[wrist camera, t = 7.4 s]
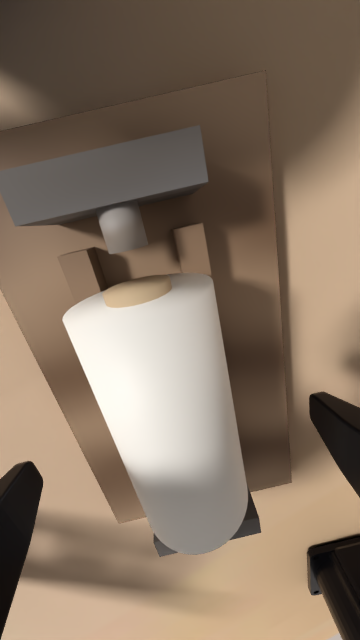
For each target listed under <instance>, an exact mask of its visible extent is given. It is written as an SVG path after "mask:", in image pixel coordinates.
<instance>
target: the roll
mask: <svg viewBox="0 0 360 640" xmlns="http://www.w3.org/2000/svg"><path fill="white" fill-rule="evenodd" d="M62 321H63V323H64V325H65V328H66V330H67V332H68V335H69V337H70V339H71V342H72V344H73V346H74V349H75V351H76V353H77V356H78V358H79V360H80V363H81V365H82V367H83V370H84V372H85V374H86V377H87V379H88V381H89V384H90V386H91V388H92V391H93V393H94V395H95V398H96V400H97V402H98V405H99V407H100V409H101V412H102V414H103V416H104V419H105V421H106V423H107V426H108V428H109V430H110V433H111V435H112V437H113V440H114V442H115V444H116V447H117V449H118V451H119V454H120V456H121V458H122V461H123V463H124V465H125V468H126V470H127V473H128V475H129V477H130V480H131V482H132V484H133V487H134V489H135V491H136V494H137V496H138V498H139V501H140V503H141V505H142V508H143V510H144V512H145V515H146V517H147V519H148V522H149V524H150V526H151V528H152V530H153V532H154V534H155V535H156V536H157V538H158V539H159V540H160V541H161V542H162V543H163V544H165V545H166V546H167V547H169V548H170V549H172V550H174V551H177V552H179V553H184V554H192V555H197V554H204V553H207V552H211V551H213V550H215V549H217V548H219V547H221V546H222V545H224V544H225V543H226V542H227V541H229V540H230V539H231V538H232V537H233V535H234V534H235V533H236V532H237V530H238V529H239V527H240V525H241V524H242V521H243V519H244V517H245V513H246V510H247V504H248V490H247V483H246V477H245V471H244V465H243V459H242V453H241V447H240V441H239V435H238V429H237V423H236V417H235V411H234V405H233V399H232V393H231V387H230V381H229V375H228V369H227V363H226V357H225V351H224V345H223V339H222V333H221V327H220V320H219V314H218V308H217V302H216V296H215V290H214V284H213V280H212V278H211V277H210V276H208V275H205V274H200V273H175V274H166V275H151V276H145V277H140V278H136V279H132V280H129V281H125V282H122V283H120V284H117V285H115V286H112V287H110V288H109V289H107V290H105V291H102V292H100V293H97V294H95V295H93V296H91V297H88V298H86V299H85V300H83V301H81V302H79V303H77V304H76V305H74V306H73V307H71V308H70V309H69V310H68V311H67V312H66V313H65V314H64V316H63V319H62Z"/></svg>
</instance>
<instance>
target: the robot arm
mask: <svg viewBox="0 0 360 640" xmlns="http://www.w3.org/2000/svg"><path fill="white" fill-rule="evenodd" d="M309 406H310V418H311V420H312V422H313V424H314V426H315V427H316V429H317V431H318V433H319V434H320V436H321V438H322V440H323V441H324V443H325V445H326V446H327V448H328V450H329V452H330V453H331V455H332V457H333V459H334V460H335V462H336V464H337V465H338V467H339V469H340V470H341V472H342V473H343V475H344V476H345V478H346V479H347V480H348V482H349V483H350V485H351V486H352V487H353V489H354V490H355V492H356V493H357V494H358V496H359V497H360V408H359V407H357V406H354V405H352V404H350V403H348V402H346V401H343V400H341V399H339V398H337V397H335V396H332V395H330V394H328V393H326V392H318V393H314V394H311V395H310V397H309ZM42 488H43V479H42V476H41V475H40V473H39V471H38V470H37V468H36V467H35V465H34V463H33V462H31V461H27V462H22V463H19V464H16V465H15V466H14V467H13V468H12V469H11V470H10V471H8V472H7V473H6V474H5V475H4V476H3V477H2V478H1V479H0V640H1V636H2V633H3V630H4V627H5V623H6V620H7V617H8V614H9V610H10V607H11V604H12V601H13V597H14V594H15V591H16V588H17V585H18V581H19V578H20V575H21V572H22V568H23V565H24V562H25V559H26V555H27V552H28V548H29V545H30V541H31V537H32V533H33V529H34V524H35V520H36V515H37V510H38V506H39V501H40V497H41V492H42ZM307 568H308V588H309V591H310V593H311V595H319V594H322V595H323V597H324V599H325V601H326V604H327V606H328V608H329V610H330V613H331V615H332V617H333V619H334V622H335V624H336V626H337V628H338V631H339V633H340V635H341V637H342V639H343V640H360V537H358V538H354V539H350V540H345V541H341V542H337V543H333V544H329V545H324V546H320V547H316V548H312V549H310V550H309V551H308V552H307Z"/></svg>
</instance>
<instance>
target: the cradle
mask: <svg viewBox="0 0 360 640" xmlns="http://www.w3.org/2000/svg"><path fill="white" fill-rule="evenodd" d="M175 273H200V274H205V275H208V276H210V277H211V278H212V280H213V284H214V290H215V296H216V302H217V308H218V314H219V320H220V327H221V333H222V339H223V345H224V351H225V357H226V363H227V369H228V375H229V381H230V387H231V393H232V399H233V405H234V411H235V417H236V423H237V429H238V435H239V441H240V447H241V453H242V459H243V465H244V471H245V477H246V483H247V490H248V504H247V510H246V513H245V517H244V519H243V521H242V524H241V525H240V527H239V529H238V530H237V532H236V533H235V534H234V535H233V537H232V538H231V539H230V540H232V539H236V538H241V537H245V536H249V535H253V534H257V533H261V529H260V522H259V517H258V514H257V511H256V508H255V505H254V502H253V499H252V497H251V494H250V492H254V491H258V490H262V489H266V488H271V487H275V486H279V485H283V484H287V483H292V480H291V464H290V448H289V432H288V416H287V400H286V384H285V368H284V352H283V336H282V320H281V304H280V288H279V273H278V257H277V241H276V225H275V209H274V193H273V177H272V161H271V145H270V129H269V113H268V97H267V81H266V70H265V71H261V72H256V73H252V74H248V75H243V76H239V77H235V78H230V79H226V80H222V81H217V82H213V83H208V84H204V85H200V86H195V87H191V88H187V89H182V90H178V91H173V92H169V93H165V94H160V95H156V96H152V97H147V98H143V99H139V100H134V101H130V102H125V103H121V104H117V105H112V106H108V107H104V108H99V109H95V110H91V111H86V112H82V113H77V114H73V115H69V116H64V117H60V118H56V119H51V120H47V121H43V122H38V123H34V124H29V125H25V126H21V127H16V128H12V129H8V130H3V131H0V289H1V291H2V293H3V295H4V297H5V299H6V301H7V303H8V305H9V307H10V309H11V311H12V313H13V315H14V317H15V319H16V321H17V323H18V325H19V327H20V329H21V331H22V333H23V335H24V337H25V339H26V341H27V343H28V345H29V347H30V349H31V351H32V353H33V355H34V357H35V359H36V361H37V363H38V365H39V367H40V369H41V371H42V372H43V374H44V376H45V378H46V380H47V382H48V384H49V386H50V388H51V390H52V392H53V394H54V396H55V398H56V400H57V402H58V404H59V406H60V408H61V410H62V412H63V414H64V416H65V418H66V420H67V422H68V424H69V426H70V428H71V430H72V432H73V434H74V436H75V438H76V440H77V442H78V444H79V446H80V448H81V450H82V452H83V454H84V456H85V458H86V460H87V462H88V464H89V466H90V468H91V470H92V472H93V473H94V475H95V477H96V479H97V481H98V483H99V485H100V487H101V489H102V491H103V493H104V495H105V497H106V499H107V501H108V503H109V505H110V507H111V509H112V511H113V513H114V515H115V517H116V519H117V521H118V523H124V522H128V521H132V520H136V519H140V518H145V517H146V515H145V512H144V510H143V508H142V505H141V503H140V501H139V498H138V496H137V494H136V491H135V489H134V487H133V484H132V482H131V480H130V477H129V475H128V473H127V470H126V468H125V465H124V463H123V461H122V458H121V456H120V454H119V451H118V449H117V447H116V444H115V442H114V440H113V437H112V435H111V433H110V430H109V428H108V426H107V423H106V421H105V419H104V416H103V414H102V412H101V409H100V407H99V405H98V402H97V400H96V398H95V395H94V393H93V391H92V388H91V386H90V384H89V381H88V379H87V377H86V374H85V372H84V370H83V367H82V365H81V363H80V360H79V358H78V356H77V353H76V351H75V349H74V346H73V344H72V342H71V339H70V337H69V335H68V332H67V330H66V328H65V325H64V323H63V321H62V319H63V316H64V314H65V313H66V312H67V311H68V310H69V309H70V308H71V307H73V306H74V305H76V304H77V303H79V302H81V301H83V300H85V299H86V298H88V297H91V296H93V295H95V294H97V293H100V292H102V291H105V290H107V289H109V288H110V287H112V286H115V285H117V284H120V283H122V282H125V281H129V280H132V279H136V278H140V277H145V276H151V275H166V274H175ZM154 545H155V547H156V549H157V551H158V554H159V556H160V557H161V556H165V555H169V554H174V553H178V552H177V551H174V550H172V549H170V548H169V547H167V546H166V545H165V544H163V543H162V542H161V541H160V540H159V539H158V538H157V536H156V535H155V534H154Z"/></svg>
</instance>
